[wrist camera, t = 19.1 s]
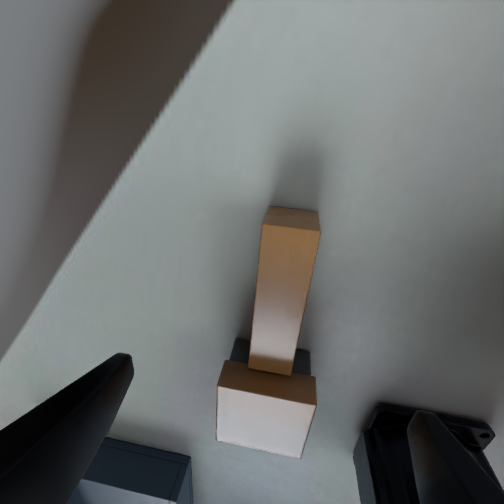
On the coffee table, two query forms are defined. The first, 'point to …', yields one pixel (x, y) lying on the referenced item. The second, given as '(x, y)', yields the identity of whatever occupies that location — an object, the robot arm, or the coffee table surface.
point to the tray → (134, 476)
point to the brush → (274, 345)
